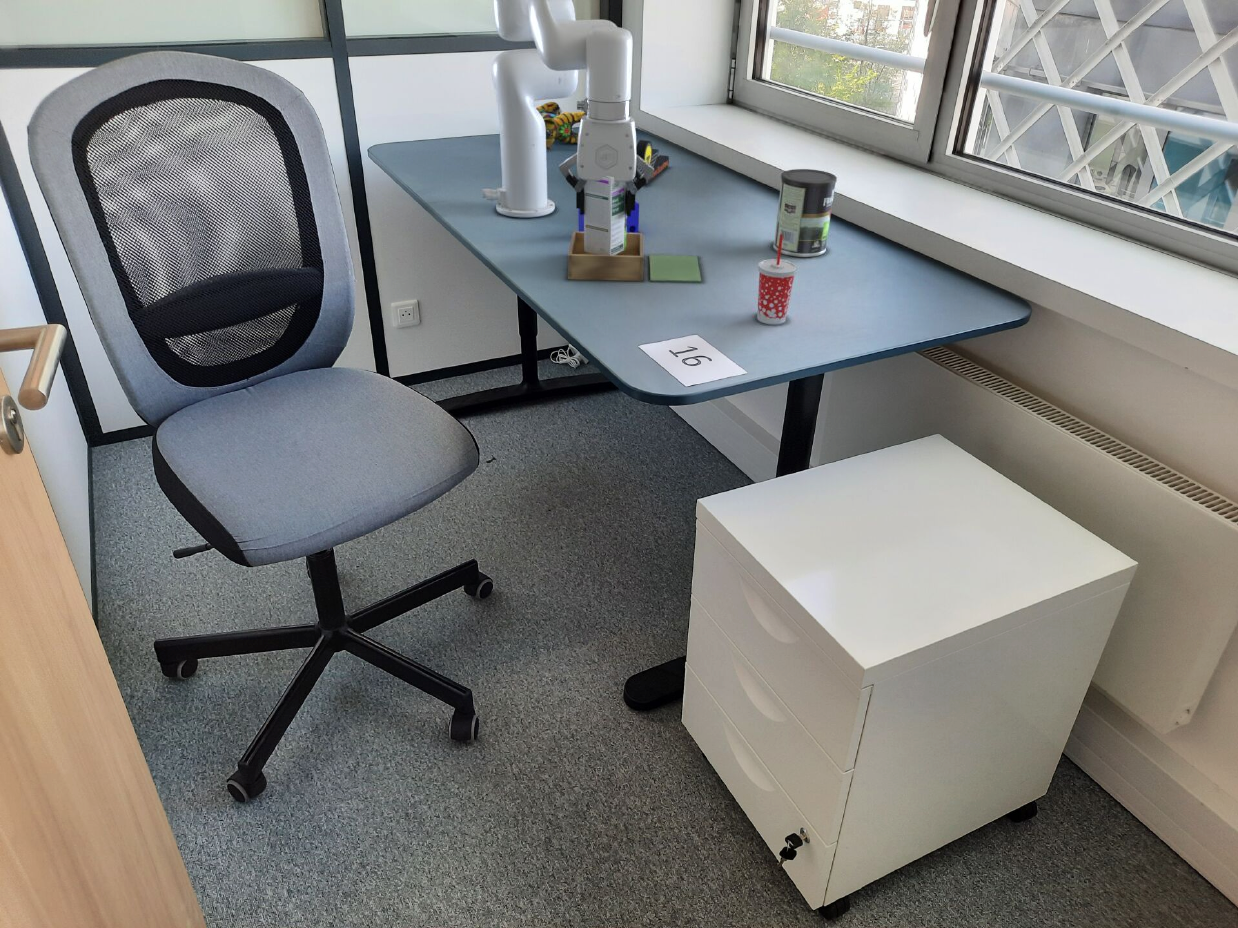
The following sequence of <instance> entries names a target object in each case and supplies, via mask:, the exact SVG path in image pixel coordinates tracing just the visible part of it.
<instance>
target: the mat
mask: <svg viewBox="0 0 1238 928" xmlns="http://www.w3.org/2000/svg"><path fill="white" fill-rule="evenodd" d="M649 279H650V282H668V283H669V282H672V283H673V282H676V283H702V278H701V272H700V266H699V261H698V256H697V255H681V254H680V255H677V254H649Z"/></svg>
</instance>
